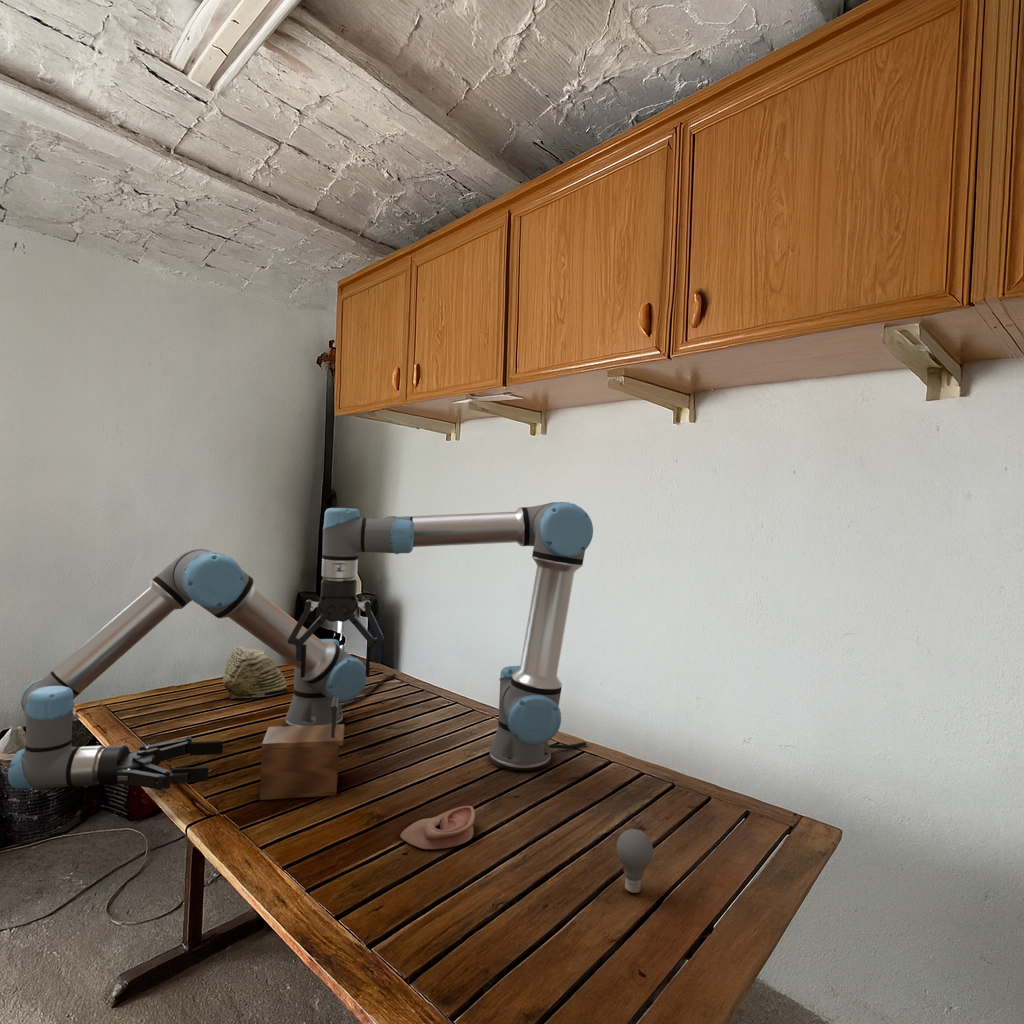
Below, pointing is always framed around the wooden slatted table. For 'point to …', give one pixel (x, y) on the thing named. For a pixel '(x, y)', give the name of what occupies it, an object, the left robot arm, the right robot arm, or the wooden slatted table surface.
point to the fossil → (252, 674)
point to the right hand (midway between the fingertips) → (335, 675)
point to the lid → (306, 734)
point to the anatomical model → (442, 829)
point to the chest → (299, 772)
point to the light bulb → (634, 857)
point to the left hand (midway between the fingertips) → (215, 760)
